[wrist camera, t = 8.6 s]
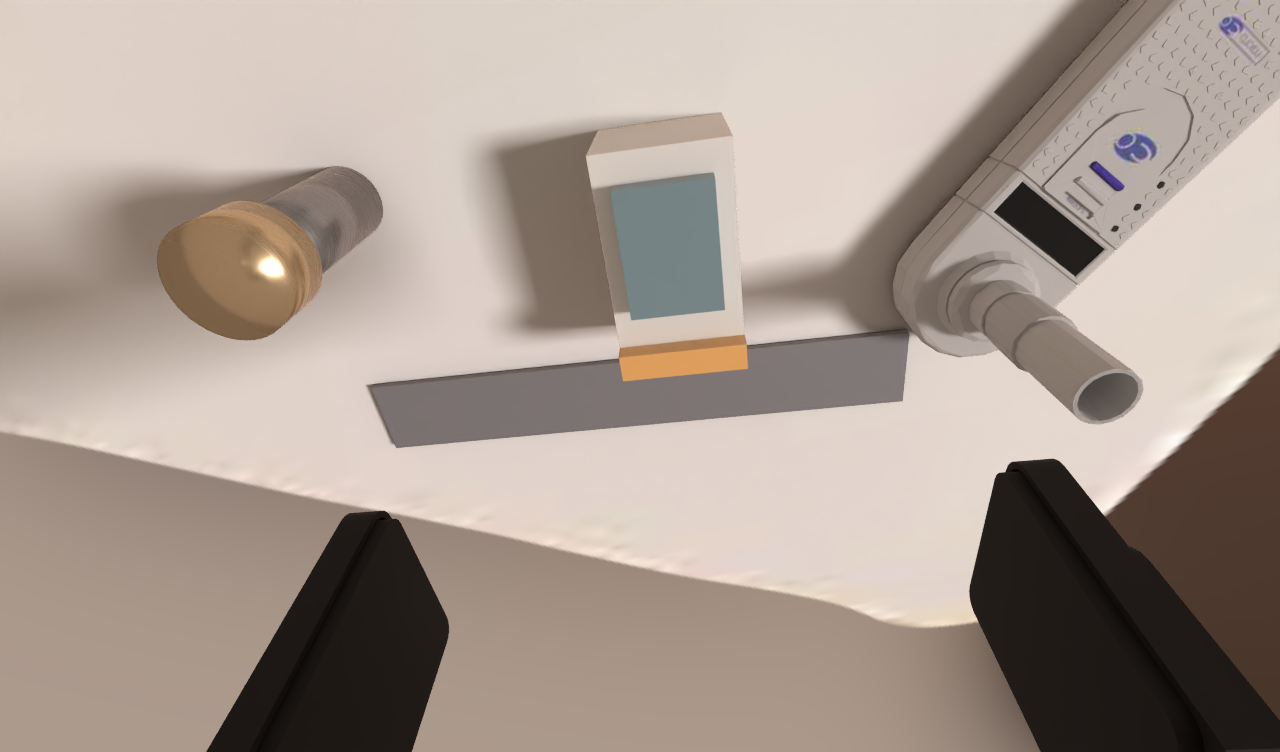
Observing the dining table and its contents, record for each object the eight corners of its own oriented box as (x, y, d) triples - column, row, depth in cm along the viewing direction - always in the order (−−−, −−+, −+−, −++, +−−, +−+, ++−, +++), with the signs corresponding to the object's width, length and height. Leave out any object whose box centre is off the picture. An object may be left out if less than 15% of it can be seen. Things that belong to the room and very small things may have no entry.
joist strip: (373, 384, 29) (370, 387, 29) (906, 329, 27) (909, 332, 26) (398, 444, 31) (396, 448, 30) (900, 397, 28) (902, 401, 28)
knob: (284, 162, 24) (131, 230, 17) (373, 149, 23) (254, 214, 17) (322, 251, 26) (197, 346, 19) (405, 241, 25) (310, 333, 18)
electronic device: (1732, 19, 12) (1087, 502, 19) (1291, 19, 21) (951, 351, 27) (1614, -171, 11) (962, 420, 17) (1193, -87, 19) (860, 289, 26)
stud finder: (598, 129, 23) (583, 161, 19) (721, 111, 22) (734, 140, 18) (630, 323, 27) (623, 386, 23) (734, 311, 27) (748, 373, 22)
